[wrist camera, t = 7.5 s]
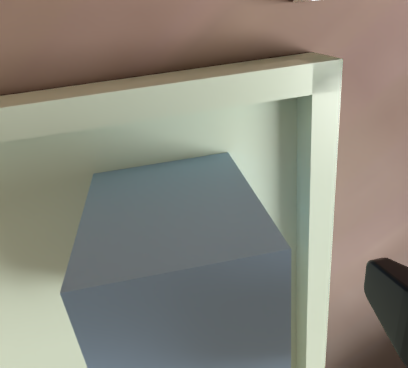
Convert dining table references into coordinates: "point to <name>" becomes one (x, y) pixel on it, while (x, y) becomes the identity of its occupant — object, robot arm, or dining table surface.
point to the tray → (158, 153)
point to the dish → (302, 0)
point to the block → (179, 270)
